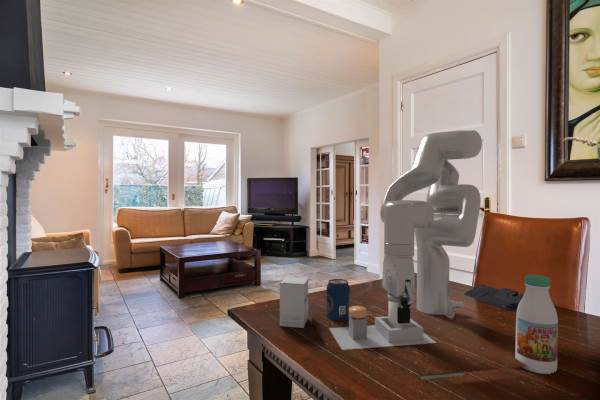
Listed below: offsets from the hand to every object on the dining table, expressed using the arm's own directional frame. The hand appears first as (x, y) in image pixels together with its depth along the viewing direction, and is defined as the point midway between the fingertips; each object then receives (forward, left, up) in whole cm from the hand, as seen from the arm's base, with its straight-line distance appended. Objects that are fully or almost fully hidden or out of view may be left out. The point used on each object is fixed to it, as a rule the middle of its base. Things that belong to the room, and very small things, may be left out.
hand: (398, 317), depth 92 cm
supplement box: (+25, -16, -6) cm, 30 cm away
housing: (+5, 0, -6) cm, 8 cm away
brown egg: (+11, 0, -3) cm, 11 cm away
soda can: (+12, -15, -6) cm, 20 cm away
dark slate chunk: (-50, -25, -6) cm, 56 cm away
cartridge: (0, 0, -4) cm, 4 cm away
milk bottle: (-24, +18, -6) cm, 31 cm away
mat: (-1, +14, -6) cm, 15 cm away
